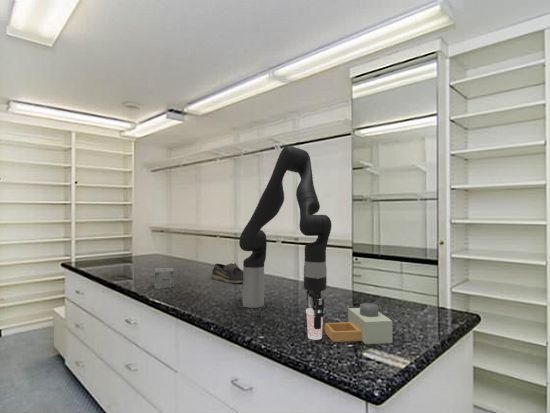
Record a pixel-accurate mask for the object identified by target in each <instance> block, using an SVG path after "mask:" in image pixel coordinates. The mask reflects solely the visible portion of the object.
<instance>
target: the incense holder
mask: <svg viewBox="0 0 550 413" xmlns="http://www.w3.org/2000/svg"><path fill="white" fill-rule="evenodd" d="M174 270H175V269H174V267H171V266H170V267H155V268H154V290H159V289H172V288H174V287H175V286H174V280H175V279H174V278H175V277H174V275H175V273H174V272H175V271H174Z"/></svg>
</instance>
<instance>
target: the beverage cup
mask: <svg viewBox="0 0 550 413" xmlns="http://www.w3.org/2000/svg"><path fill="white" fill-rule="evenodd" d="M318 313H319V310H318ZM305 314H306V325H307V327H306V328H307V338H308V339H310V340H315V341H317V340H321V339H322V338H323V326H324V325H323V324H324V323H323V322H324V321H323V320H324V316H323V317H321V329H315V328H314V313H313V310H312V308H306V309H305Z"/></svg>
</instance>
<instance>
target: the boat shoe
mask: <svg viewBox="0 0 550 413" xmlns="http://www.w3.org/2000/svg"><path fill="white" fill-rule="evenodd" d="M210 278H211V280H213V281H219V282H220V281H222V282H225V283H227V284H232V285H233V284H243V270H242V269H240V267H239V265H238V264H237V263H233V262H232V263H228V264H222V263H215V264H214V266H213V269H212V273H211V277H210Z"/></svg>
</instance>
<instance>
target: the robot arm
mask: <svg viewBox="0 0 550 413" xmlns="http://www.w3.org/2000/svg"><path fill="white" fill-rule="evenodd" d="M310 157H311V156H310V154H309V152H308V151H306V150H304V149H302V148H298V147H295V146H291V145H286V146H284V147H283V148H282V149H281V151H280V153H279V155H278V158H277V159H276V163H275V166H274V168H273V171H272V174H271V176H270V177H269V178H270V179H269V181H268V182H267V185H266V186H265V189H264V190H263V193H262V195H261V196H260V199H259V201H258V204H257V205H256V208H255V209H254V211H253V213H252V215H251V217H250V219H249V220H248V222H247V224H246V225H245V227H244V229H242V232H241V233H240V236H239V242H238V243H239V244H238V245H239V247H240V249H241V250H242V251H245V252H251V253H250V255H249V256H248V257H247V258H245V259H244V260H243V261H242V262H243V263H242V264H243V265H242V267H243V269H242V272H243V283H242V307H243V308H248V309H249V308H250V309H257V308H261V307H264V306H265V262H266V258H267V246H268V245H267V243H268V242H267V236H266V232H265V231H264V230H262V228H263V227H264V226H266V225H267V224H268V223H269V222H271V221H272V219H274V218H275V217H276V216H277V215H278V214H279V211H280V210H281V209H282V207H283V205H284V201H285V192H284V185H283V184H284V183H283V181H284V177H285V174H286V172H287V171H288V172H291V173H292V172H293V173H297V174H298V176H299V177H300V181H299V183H298V186H297V187H296V194H295V195H296V197H295V198H296V200H297V204H298V208H299V225H298V227H299V231H300V233H301V234H302V235H304V236H307V237H317V238H316V240H315V241H313V242H309V243H306V244H305V246H304V264H303V289H304V290H306V307H307V308H312V310H313V313H314V328H315V329H321V317H323V318H324V316H325V314H324V313H325V299H324V298H323V295H322V291H325V290H326V289H327V274H328V273H327V270H328V269H327V246H328V242H329V238H330V235H331V231H332V220H331V218H330V217H329V216H328V215H326V214H317V213H318V212H319V211H320V208H321V205H320V201H319V199H318V198H319V197H318V195H317V193H316V189H315V185H314V184H315V183H314V180H313V178H314V177H313V169H312V162H311V158H310ZM307 308H306V309H307ZM318 310H319V313H318Z"/></svg>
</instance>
